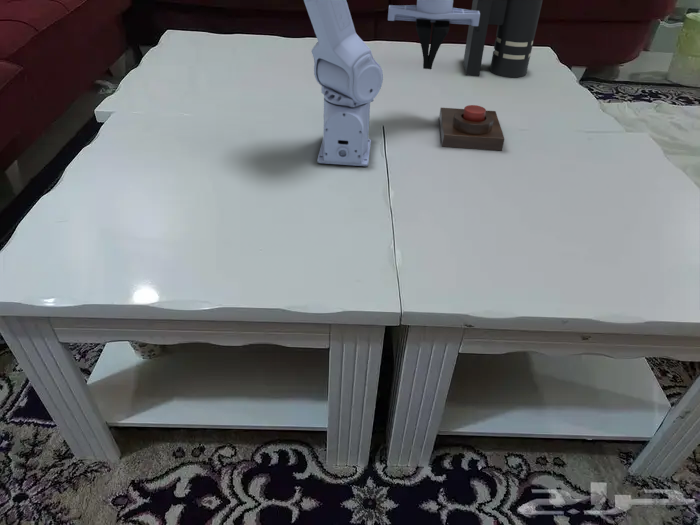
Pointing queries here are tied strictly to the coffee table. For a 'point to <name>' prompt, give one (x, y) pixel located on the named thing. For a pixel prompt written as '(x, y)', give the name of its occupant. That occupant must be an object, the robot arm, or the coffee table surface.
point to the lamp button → (474, 113)
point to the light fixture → (503, 36)
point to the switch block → (470, 130)
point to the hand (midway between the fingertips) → (427, 67)
